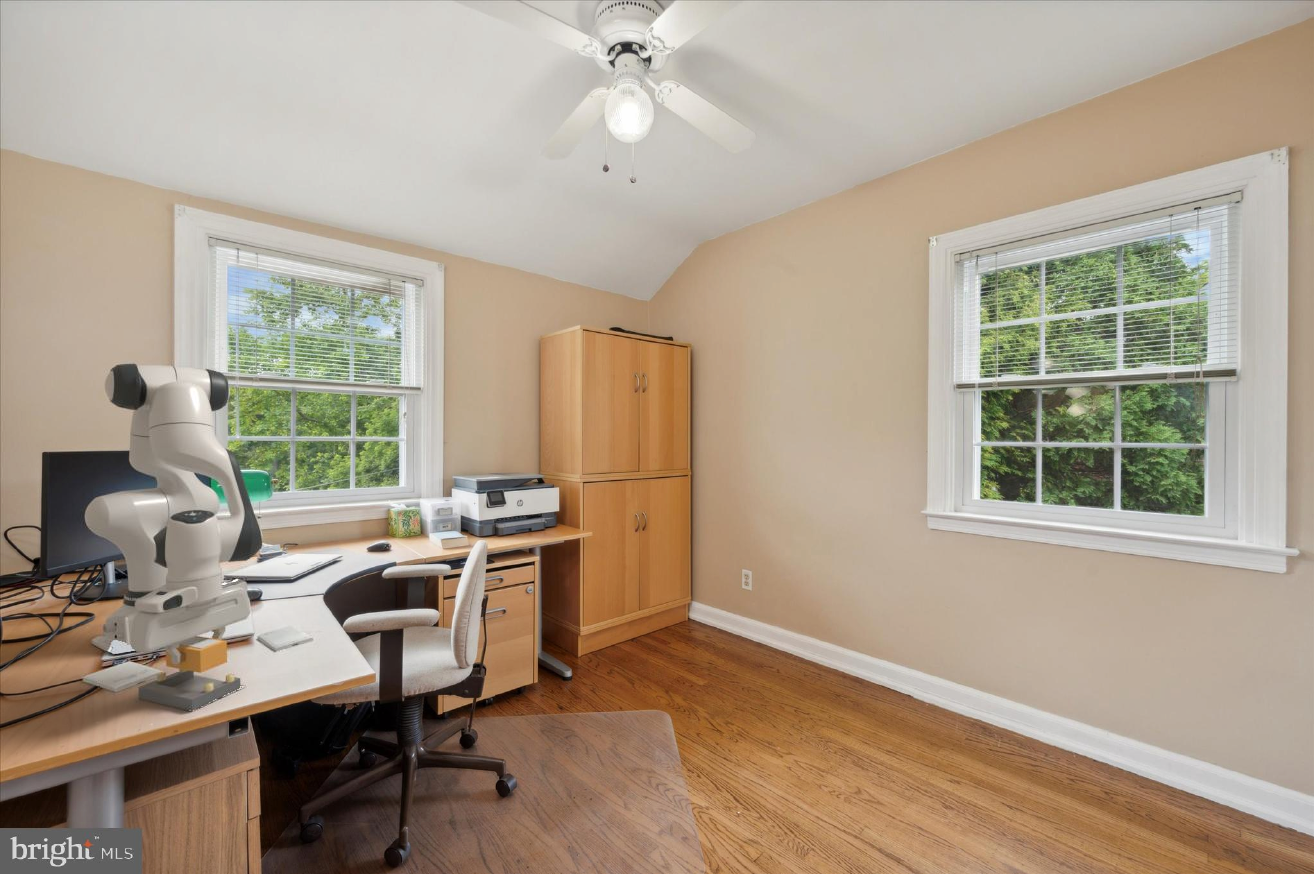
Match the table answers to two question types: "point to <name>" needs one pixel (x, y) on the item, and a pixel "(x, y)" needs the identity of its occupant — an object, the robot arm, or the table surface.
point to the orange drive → (200, 654)
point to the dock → (187, 689)
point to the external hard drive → (122, 676)
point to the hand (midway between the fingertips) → (196, 656)
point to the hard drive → (284, 638)
